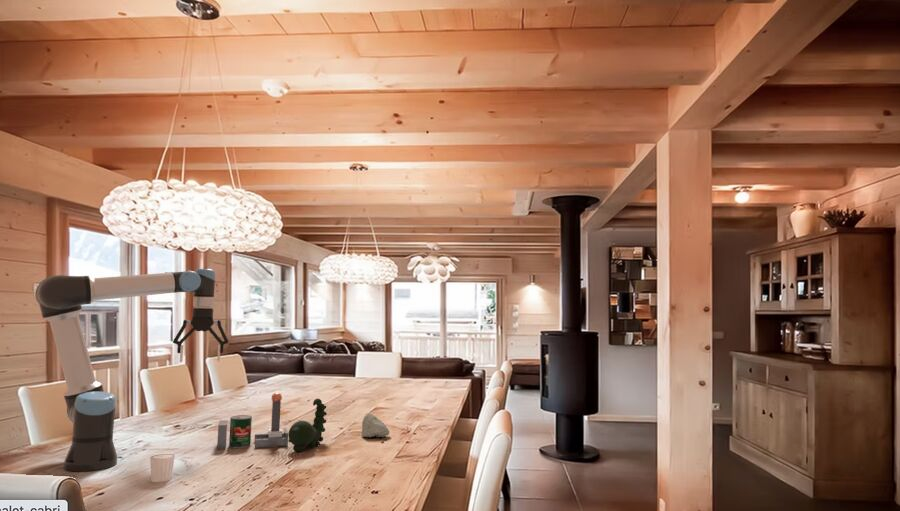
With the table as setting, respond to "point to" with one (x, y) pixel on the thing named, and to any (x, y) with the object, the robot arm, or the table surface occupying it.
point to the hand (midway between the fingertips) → (199, 361)
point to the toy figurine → (308, 430)
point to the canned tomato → (240, 431)
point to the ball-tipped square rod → (275, 417)
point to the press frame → (260, 439)
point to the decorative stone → (373, 427)
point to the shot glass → (161, 467)
